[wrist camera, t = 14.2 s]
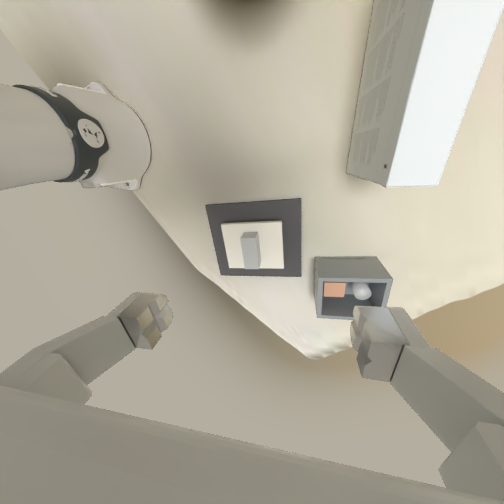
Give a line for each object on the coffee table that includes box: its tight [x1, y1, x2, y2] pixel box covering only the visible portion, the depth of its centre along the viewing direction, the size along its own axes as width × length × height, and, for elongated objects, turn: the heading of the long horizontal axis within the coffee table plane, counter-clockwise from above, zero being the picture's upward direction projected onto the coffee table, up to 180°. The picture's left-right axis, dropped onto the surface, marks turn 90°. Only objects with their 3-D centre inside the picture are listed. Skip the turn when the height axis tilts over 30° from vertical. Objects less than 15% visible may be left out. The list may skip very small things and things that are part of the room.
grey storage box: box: [314, 257, 393, 320], centre depth 40 cm, size 12×10×8 cm
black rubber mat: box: [206, 198, 301, 277], centre depth 43 cm, size 20×18×1 cm
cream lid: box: [221, 220, 284, 269], centre depth 41 cm, size 13×11×6 cm
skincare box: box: [346, 0, 504, 188], centre depth 22 cm, size 21×6×16 cm, turn 3°
